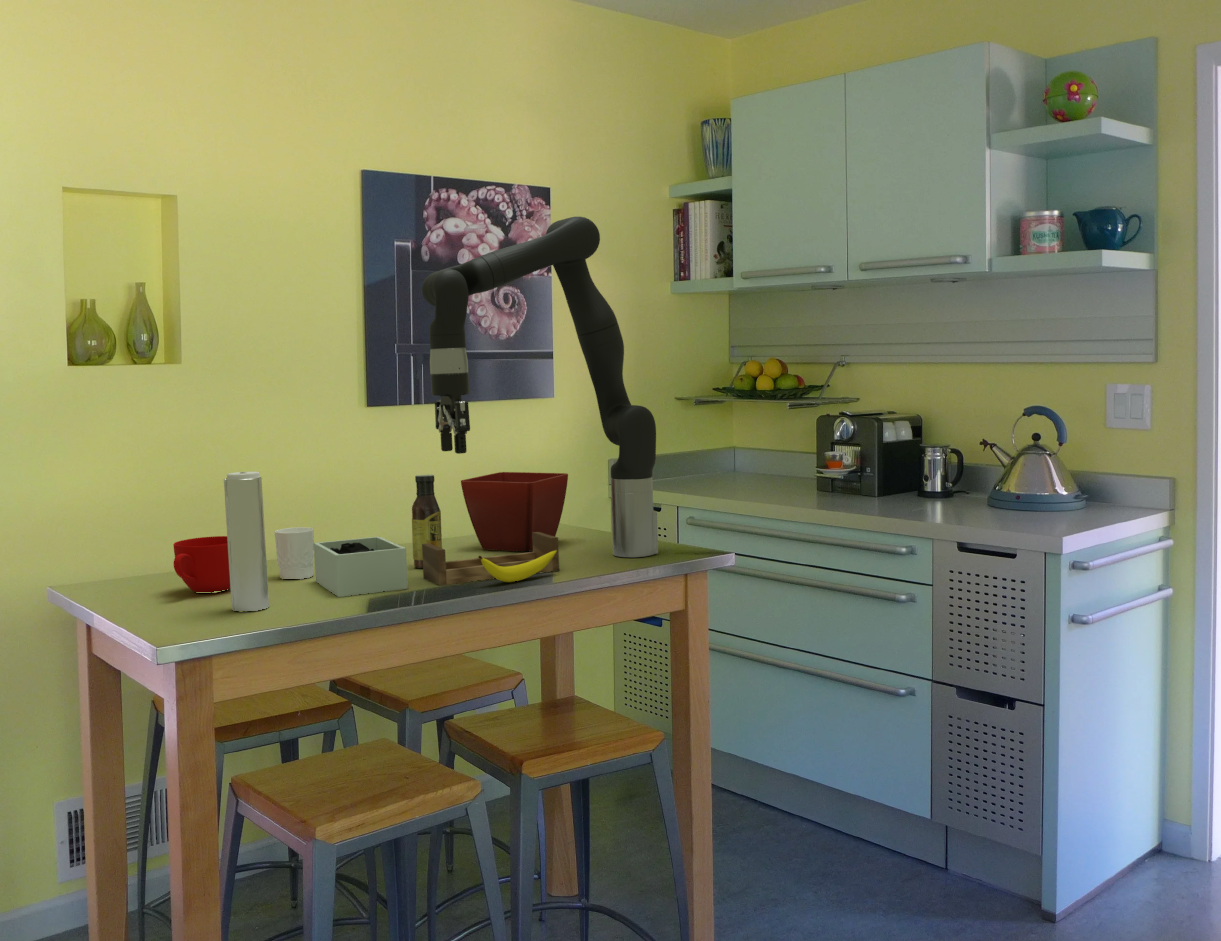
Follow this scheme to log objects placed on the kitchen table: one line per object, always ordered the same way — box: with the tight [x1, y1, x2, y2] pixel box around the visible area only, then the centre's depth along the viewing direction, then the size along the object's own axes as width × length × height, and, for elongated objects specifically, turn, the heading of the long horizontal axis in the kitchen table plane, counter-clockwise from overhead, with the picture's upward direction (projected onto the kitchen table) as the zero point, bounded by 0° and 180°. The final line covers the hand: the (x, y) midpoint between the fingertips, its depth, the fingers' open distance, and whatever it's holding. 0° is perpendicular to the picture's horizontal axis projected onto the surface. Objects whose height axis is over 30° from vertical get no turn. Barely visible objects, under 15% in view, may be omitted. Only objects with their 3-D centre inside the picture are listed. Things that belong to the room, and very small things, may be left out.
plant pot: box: [460, 471, 569, 552], centre depth 265 cm, size 19×19×17 cm
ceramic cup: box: [173, 535, 231, 592], centre depth 221 cm, size 13×17×10 cm
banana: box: [477, 550, 557, 584], centre depth 224 cm, size 3×19×6 cm, turn 131°
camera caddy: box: [314, 536, 409, 598], centre depth 224 cm, size 14×19×8 cm
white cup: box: [274, 526, 315, 580], centre depth 235 cm, size 8×8×10 cm
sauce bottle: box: [411, 474, 443, 569], centre depth 242 cm, size 7×6×20 cm
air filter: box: [223, 471, 270, 612], centre depth 204 cm, size 6×6×25 cm
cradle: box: [422, 532, 560, 586], centre depth 232 cm, size 26×10×7 cm, turn 117°
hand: (453, 452), depth 227 cm, fingers open, 8 cm apart
